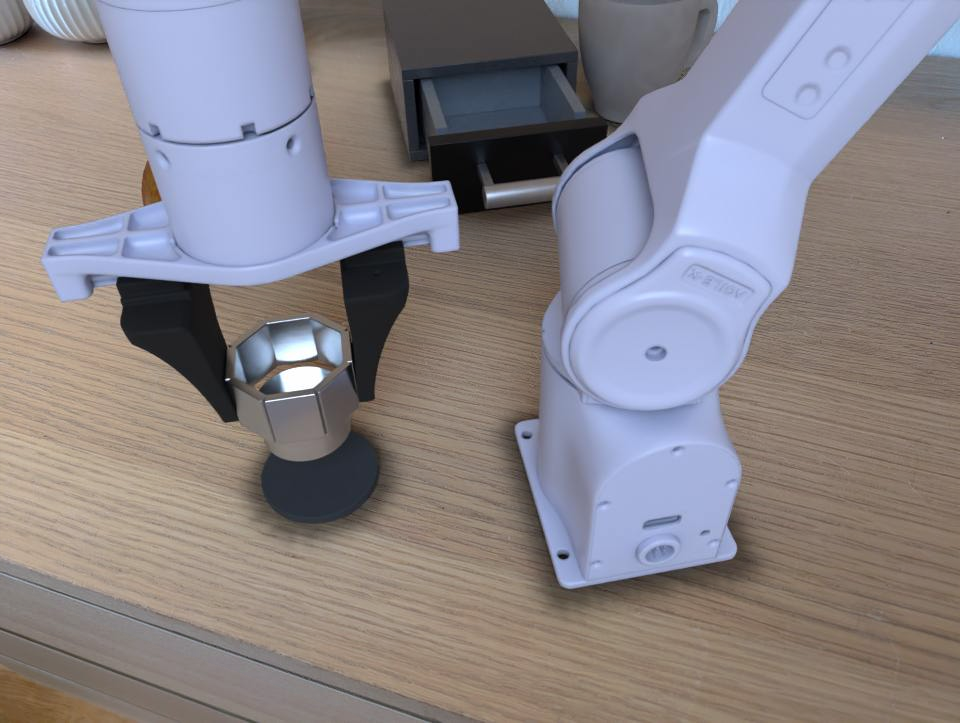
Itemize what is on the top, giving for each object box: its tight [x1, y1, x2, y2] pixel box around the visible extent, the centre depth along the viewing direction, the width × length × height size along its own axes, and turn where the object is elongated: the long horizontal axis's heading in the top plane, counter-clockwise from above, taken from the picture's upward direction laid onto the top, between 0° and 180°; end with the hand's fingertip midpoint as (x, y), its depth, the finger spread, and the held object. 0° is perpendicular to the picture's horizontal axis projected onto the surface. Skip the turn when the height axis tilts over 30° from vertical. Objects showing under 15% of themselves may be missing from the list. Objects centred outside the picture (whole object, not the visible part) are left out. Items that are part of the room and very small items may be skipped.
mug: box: [577, 0, 719, 124], centre depth 63 cm, size 12×9×10 cm
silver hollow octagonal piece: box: [225, 311, 362, 462], centre depth 36 cm, size 5×5×5 cm
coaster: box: [260, 429, 380, 525], centre depth 39 cm, size 6×6×1 cm
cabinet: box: [381, 0, 579, 162], centre depth 64 cm, size 14×13×7 cm
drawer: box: [417, 64, 609, 216], centre depth 56 cm, size 17×11×5 cm
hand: (300, 395), depth 36 cm, fingers closed on silver hollow octagonal piece, 5 cm apart
